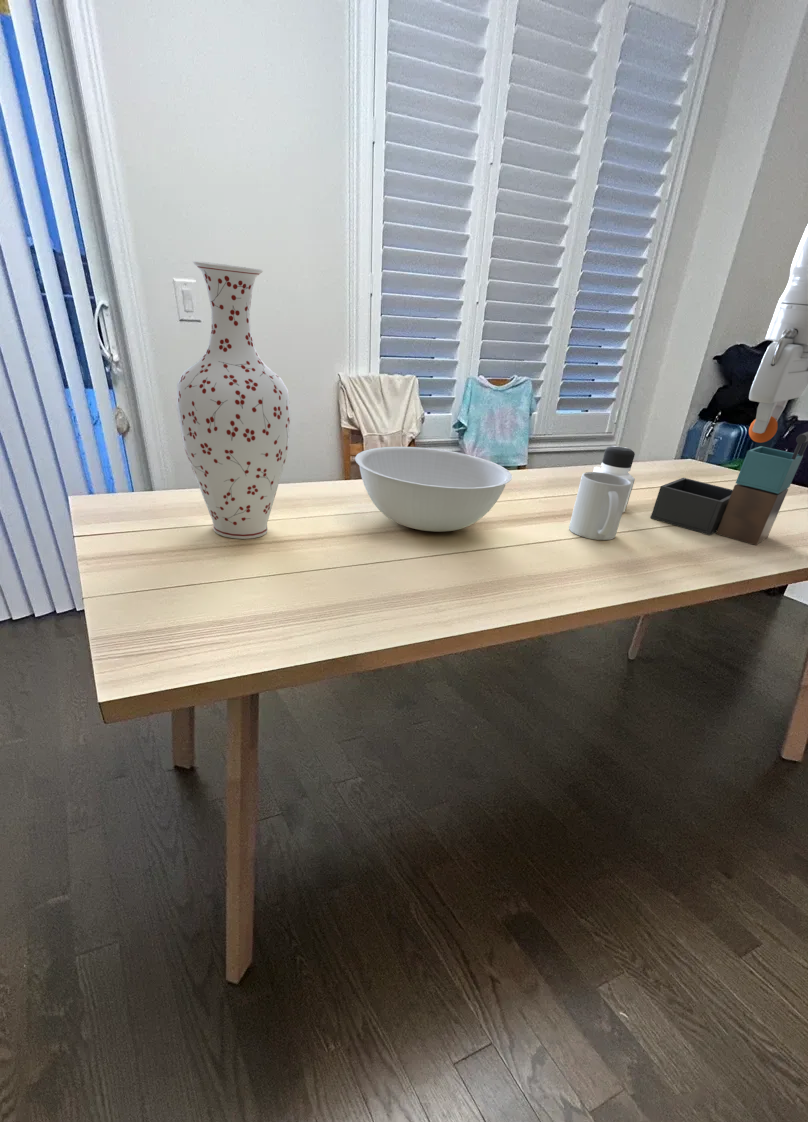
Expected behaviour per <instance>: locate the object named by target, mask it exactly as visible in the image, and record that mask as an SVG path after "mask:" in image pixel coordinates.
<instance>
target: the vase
mask: <svg viewBox="0 0 808 1122" xmlns="http://www.w3.org/2000/svg"><path fill="white" fill-rule="evenodd" d="M192 264H193V265H194V266H196V267H197V268H198V269H199V271H200V272H201V274H202V276H203V279H204V283H205V286H206V291H207V295H208V300H209V305H210V310H211V312H210V313H211V318H210V319H211V330H210V335H209V340H208V345H207V348H206V350H205V352H204V354H203V355H202V356H201V357H200V359H199V360H198V361H196V362H195V363H193V364H192V365H191V366H189V367H188V368H186V369H184V370H183V372H182V373H181V375H180V377H179V379H178V381H177V382H176V411H177V416H178V422H179V429H180V433H181V434H180V435H181V439H182V445H183V449H184V451H185V454H186V457H187V460H188V462H189V464H190V467H191V470H192V472H193V475H194V477H195V480H196V482H197V485H198V487H199V491H200V493H201V495H202V498H203V500H204V503H205V506H206V508H207V511H208V513H209V516H210V518H211V522H212V531H214V532H215V534H217V535H220V536H221V537H223V538H224V537H225V538H229V539H238V540H246V539H247V540H248V539H249V540H250V539H256V538H259V537H263V536H265V535H266V534H267V533H268V522H269V519H270V515H271V512H272V509H273V505H274V501H275V498H276V494H277V491H278V488H279V485H280V480H281V477H282V473H283V471H284V468H285V464H286V460H287V456H288V452H289V441H290V440H289V439H290V429H291V428H290V425H291V414H292V413H291V412H292V411H291V404H290V403H291V402H290V395H289V393H290V392H289V389H288V387H287V385H286V384H285V382H284V380H283V379H282V377H281V376H279V375H278V374H277V373H276V372H274V371H273V370H272V369H271V368H270V367H269V366H267V365H266V363H265V362H264V361H263V360H262V358H261V357H260V355H259V353H258V351H257V349H256V346H255V342H254V339H253V334H252V329H251V327H252V326H251V317H250V315H251V314H250V312H251V303H252V295H253V288H254V285H255V282H256V278H258V276H260V275H261V274H263V272H264V269H260V268H253V267H246V266H244V267H243V266H239V265H232V264H223V263H215V262H208V261H199V260H193V261H192Z"/></svg>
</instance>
